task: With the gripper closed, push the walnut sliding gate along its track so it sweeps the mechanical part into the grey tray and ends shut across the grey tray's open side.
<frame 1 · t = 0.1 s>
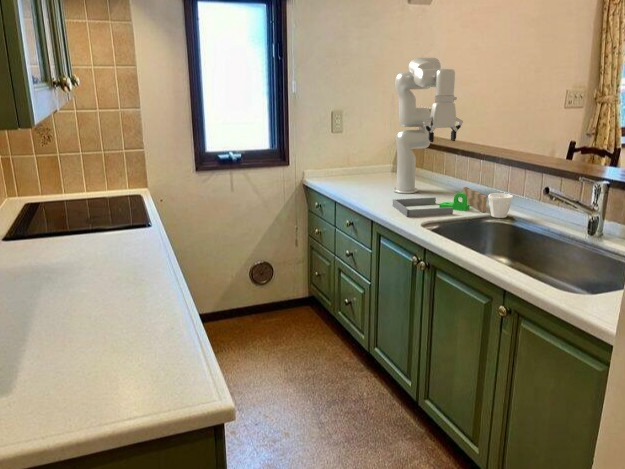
hand: (442, 141, 225), 31 cm above the counter, tool pointing down, fingers open, 9 cm apart
gate: (474, 199, 241), point 4 cm above the counter, slide at 13.5 cm
cup: (498, 217, 225), on the counter
mechanical part: (454, 209, 240), on the counter
grey tray: (422, 209, 238), on the counter
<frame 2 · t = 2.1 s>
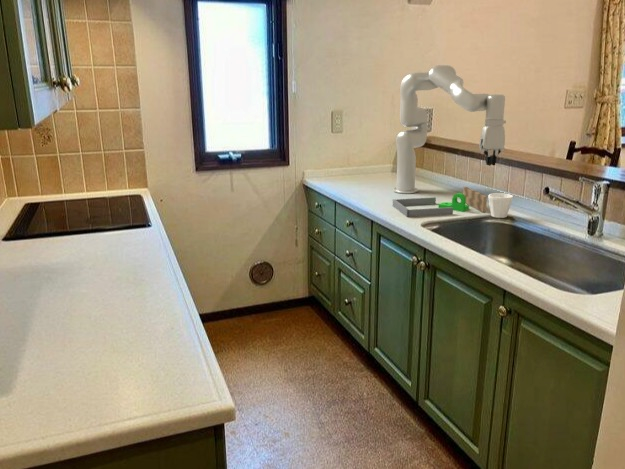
hand: (490, 164, 237), 19 cm above the counter, tool pointing down, fingers closed
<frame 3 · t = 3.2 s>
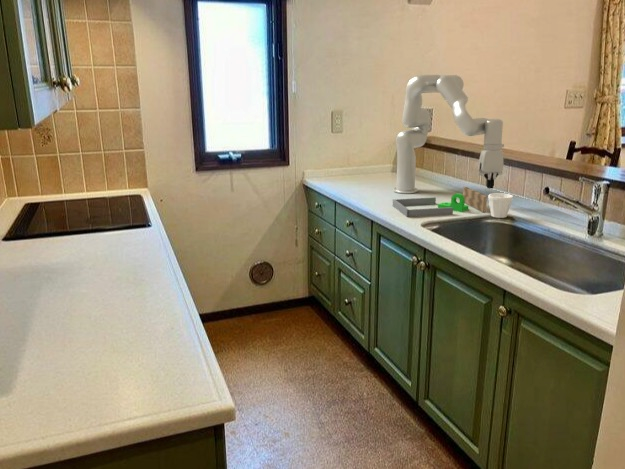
hand: (489, 187, 240), 9 cm above the counter, tool pointing down, fingers closed
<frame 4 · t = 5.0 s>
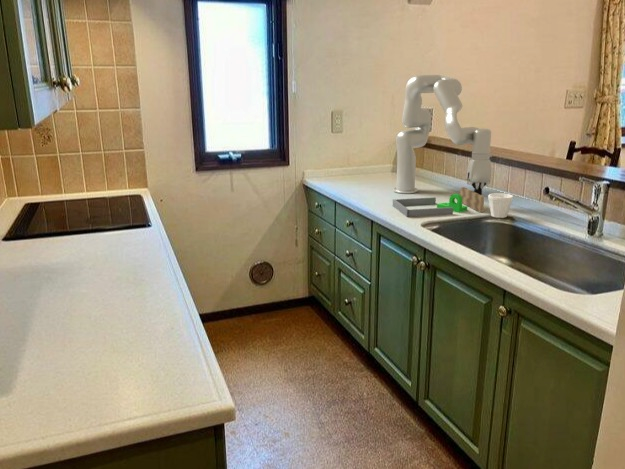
hand: (477, 197, 241), 5 cm above the counter, tool pointing down, fingers closed
gate: (471, 199, 241), point 4 cm above the counter, slide at 12.2 cm, touching gripper
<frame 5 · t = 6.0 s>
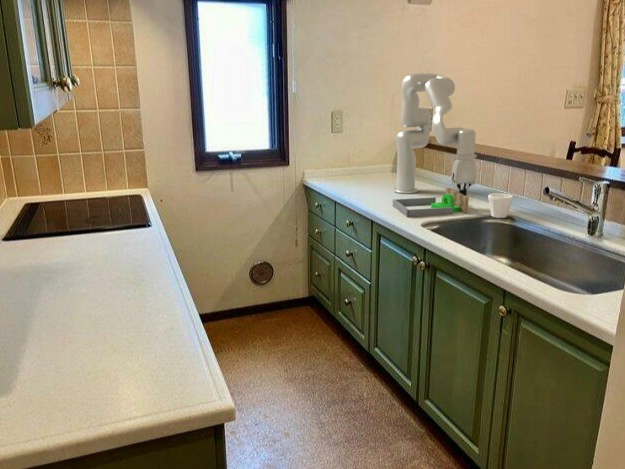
hand: (462, 197, 240), 5 cm above the counter, tool pointing down, fingers closed
gate: (456, 200, 239), point 4 cm above the counter, slide at 5.0 cm, touching gripper, mechanical part
mechanical part: (445, 210, 238), on the counter, touching gate
everything else where it was.
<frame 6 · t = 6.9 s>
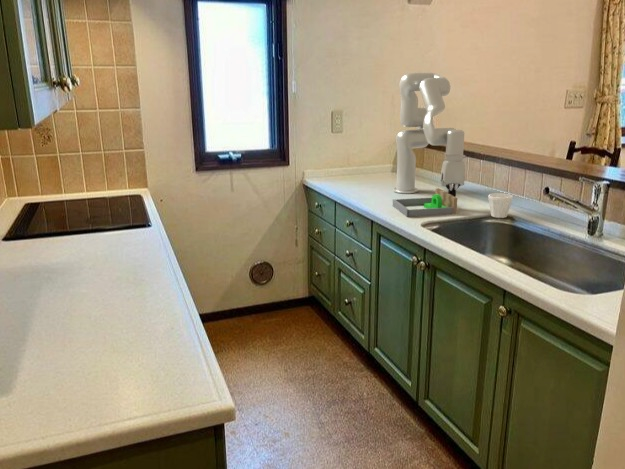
hand: (451, 198, 239), 5 cm above the counter, tool pointing down, fingers closed
gate: (445, 200, 239), point 4 cm above the counter, slide at -0.2 cm, touching gripper
mechanical part: (436, 210, 238), on the counter
everything else where it was.
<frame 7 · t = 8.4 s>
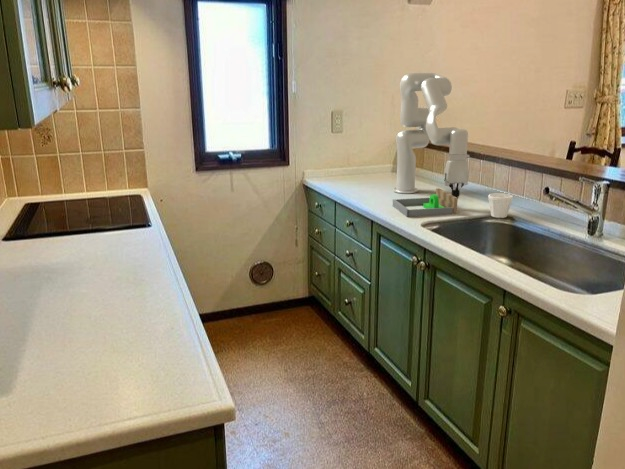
hand: (455, 198, 239), 5 cm above the counter, tool pointing down, fingers closed
gate: (445, 200, 239), point 4 cm above the counter, slide at 0.0 cm
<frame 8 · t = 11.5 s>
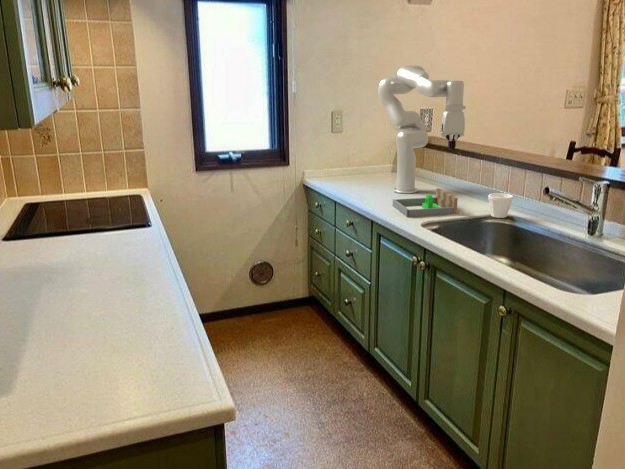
hand: (451, 149, 244), 25 cm above the counter, tool pointing down, fingers closed
mechanical part: (431, 210, 238), on the counter
everything else where it was.
at the end: mechanical part inside the target area on the grey tray (3.7 cm from its centre), point -0.5 cm above the grey tray's base; mechanical part tilted 0°; gate slide at 0.0 cm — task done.
